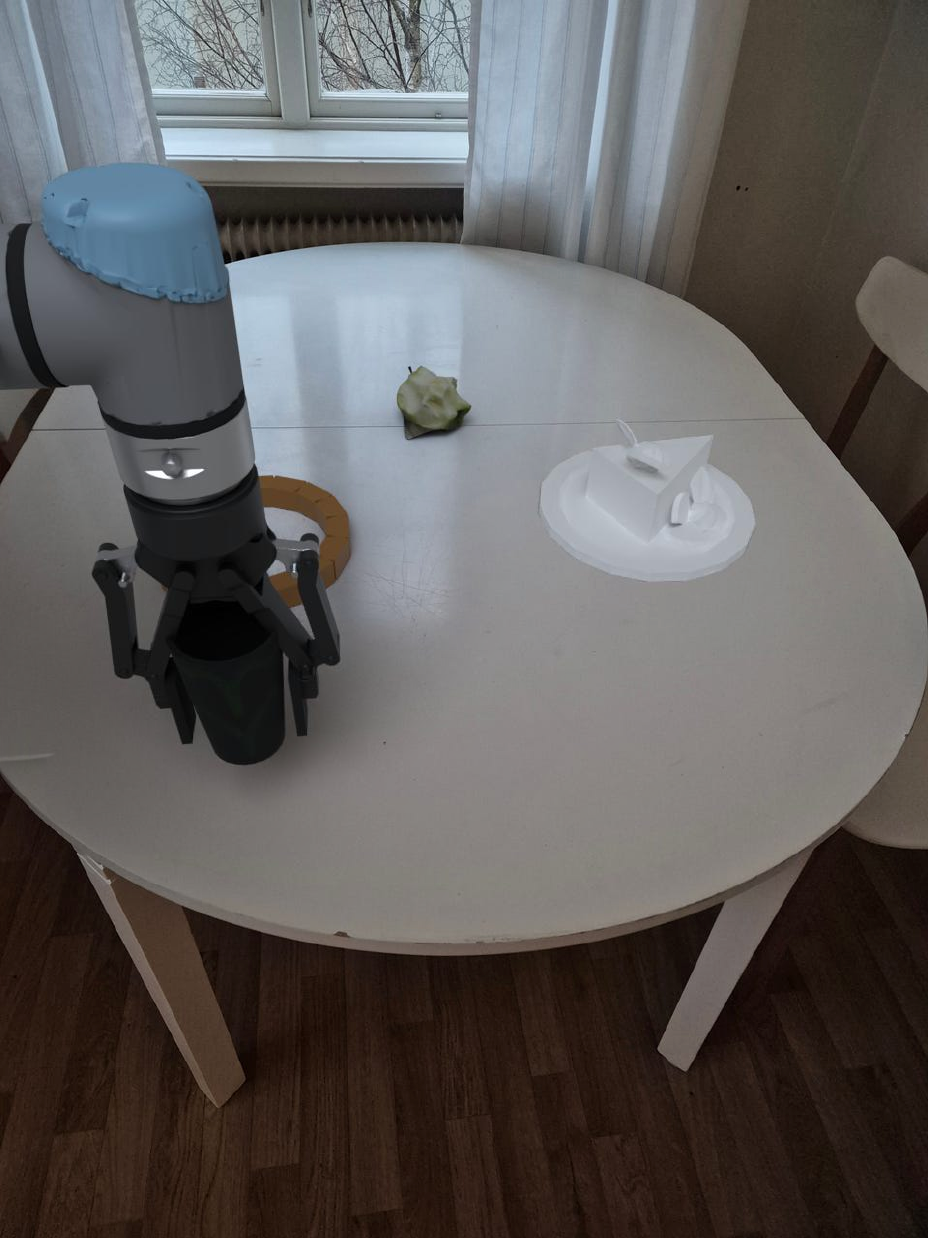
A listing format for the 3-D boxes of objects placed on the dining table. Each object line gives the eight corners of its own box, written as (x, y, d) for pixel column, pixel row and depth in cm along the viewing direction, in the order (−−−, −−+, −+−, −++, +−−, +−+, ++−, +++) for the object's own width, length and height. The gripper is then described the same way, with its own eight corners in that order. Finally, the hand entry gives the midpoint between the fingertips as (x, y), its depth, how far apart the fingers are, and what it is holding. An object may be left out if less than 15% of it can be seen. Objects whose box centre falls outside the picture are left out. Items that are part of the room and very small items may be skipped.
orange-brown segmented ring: (142, 623, 86) (135, 602, 84) (169, 499, 101) (163, 480, 99) (352, 609, 88) (350, 589, 86) (348, 490, 103) (346, 471, 101)
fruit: (391, 420, 118) (393, 361, 113) (458, 420, 119) (462, 362, 115) (401, 444, 110) (403, 382, 106) (472, 444, 112) (477, 383, 108)
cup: (319, 723, 67) (305, 610, 58) (254, 793, 62) (228, 681, 54) (243, 684, 69) (218, 570, 61) (175, 748, 64) (138, 634, 56)
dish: (636, 612, 89) (656, 525, 81) (497, 492, 104) (502, 408, 96) (797, 533, 99) (828, 449, 91) (649, 434, 114) (665, 354, 106)
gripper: (-19, 518, 45) (95, 777, 61) (373, 501, 47) (385, 756, 63) (17, 441, 51) (113, 697, 66) (368, 429, 53) (380, 680, 69)
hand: (246, 725), depth 65 cm, fingers closed on cup, 8 cm apart
